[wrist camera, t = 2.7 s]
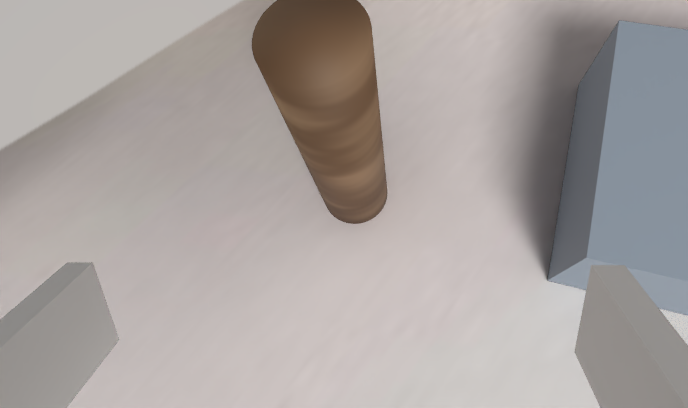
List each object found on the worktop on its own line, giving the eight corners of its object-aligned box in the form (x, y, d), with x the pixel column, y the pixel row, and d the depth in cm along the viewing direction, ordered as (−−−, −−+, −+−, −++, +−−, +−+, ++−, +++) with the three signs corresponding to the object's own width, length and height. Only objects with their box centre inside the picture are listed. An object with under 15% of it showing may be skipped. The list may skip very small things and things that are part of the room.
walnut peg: (316, 215, 29) (235, 77, 15) (334, 158, 30) (274, -20, 16) (378, 230, 28) (353, 99, 14) (394, 171, 30) (385, -5, 16)
